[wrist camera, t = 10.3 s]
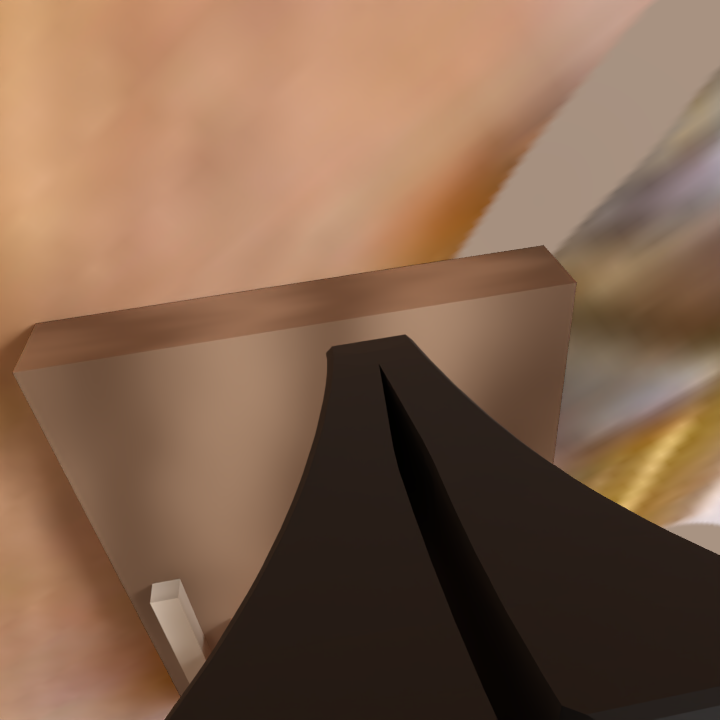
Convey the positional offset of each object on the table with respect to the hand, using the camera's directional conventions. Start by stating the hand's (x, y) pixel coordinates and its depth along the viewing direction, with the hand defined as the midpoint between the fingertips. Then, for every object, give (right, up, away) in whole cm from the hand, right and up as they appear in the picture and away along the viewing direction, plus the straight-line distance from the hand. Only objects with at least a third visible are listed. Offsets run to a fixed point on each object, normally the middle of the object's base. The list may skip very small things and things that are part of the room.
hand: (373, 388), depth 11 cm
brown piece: (-1, -6, +16) cm, 17 cm away
